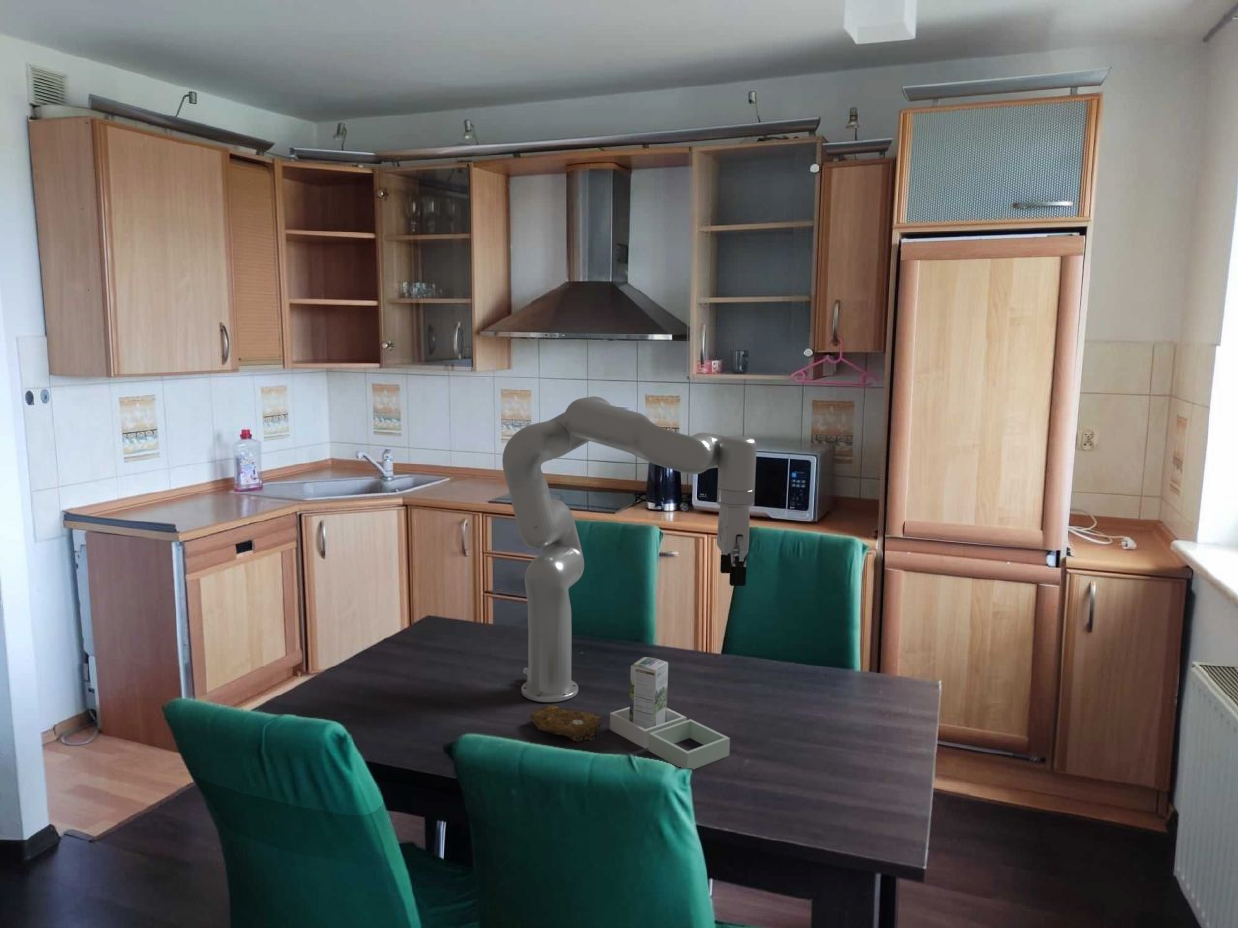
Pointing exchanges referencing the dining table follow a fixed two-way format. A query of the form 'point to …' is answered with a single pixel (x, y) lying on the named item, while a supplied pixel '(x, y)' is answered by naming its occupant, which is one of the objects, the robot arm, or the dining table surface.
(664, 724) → the bin
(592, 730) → the decorative rock
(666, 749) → the bin
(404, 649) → the dining table surface
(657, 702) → the syrup box
